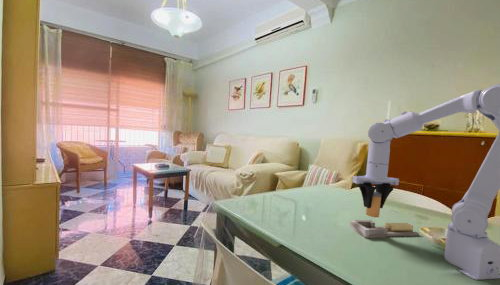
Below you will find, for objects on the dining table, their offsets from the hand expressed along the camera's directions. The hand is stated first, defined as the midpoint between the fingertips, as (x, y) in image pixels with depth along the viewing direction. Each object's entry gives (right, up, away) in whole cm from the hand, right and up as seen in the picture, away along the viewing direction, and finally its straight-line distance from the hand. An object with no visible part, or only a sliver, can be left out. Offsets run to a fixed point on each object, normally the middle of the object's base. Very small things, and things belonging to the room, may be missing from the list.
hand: (373, 207), depth 72 cm
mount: (+6, -9, +3) cm, 11 cm away
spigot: (0, -2, 0) cm, 2 cm away
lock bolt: (+10, -9, +4) cm, 14 cm away
